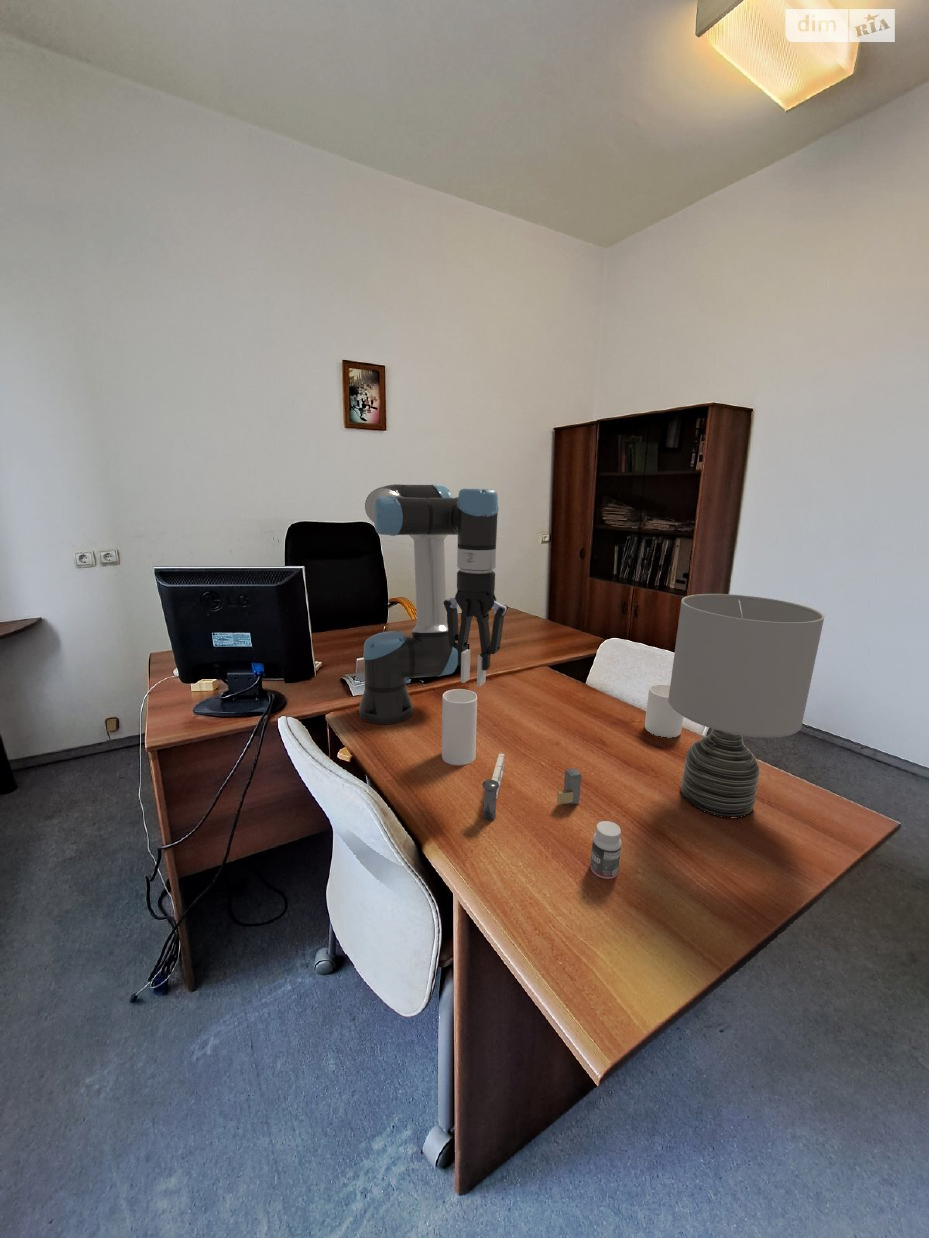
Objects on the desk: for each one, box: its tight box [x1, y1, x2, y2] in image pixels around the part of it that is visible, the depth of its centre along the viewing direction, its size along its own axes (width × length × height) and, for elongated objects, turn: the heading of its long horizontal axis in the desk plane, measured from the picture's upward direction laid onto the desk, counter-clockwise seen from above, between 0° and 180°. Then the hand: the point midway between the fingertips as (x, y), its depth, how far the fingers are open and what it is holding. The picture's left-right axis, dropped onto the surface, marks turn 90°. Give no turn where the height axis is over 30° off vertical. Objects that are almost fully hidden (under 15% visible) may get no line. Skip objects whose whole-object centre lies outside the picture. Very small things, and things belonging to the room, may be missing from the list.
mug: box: [644, 684, 685, 739], centre depth 138 cm, size 10×12×12 cm
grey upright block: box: [556, 768, 582, 807], centre depth 104 cm, size 3×5×7 cm, turn 108°
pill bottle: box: [589, 820, 622, 880], centre depth 86 cm, size 5×5×8 cm
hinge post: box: [482, 779, 500, 822], centre depth 99 cm, size 3×3×7 cm
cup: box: [441, 688, 478, 766], centre depth 121 cm, size 8×8×16 cm
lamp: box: [669, 593, 825, 819], centre depth 102 cm, size 24×24×42 cm
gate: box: [491, 753, 505, 800], centre depth 108 cm, size 14×1×5 cm, turn 168°
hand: (473, 682), depth 104 cm, fingers open, 3 cm apart
